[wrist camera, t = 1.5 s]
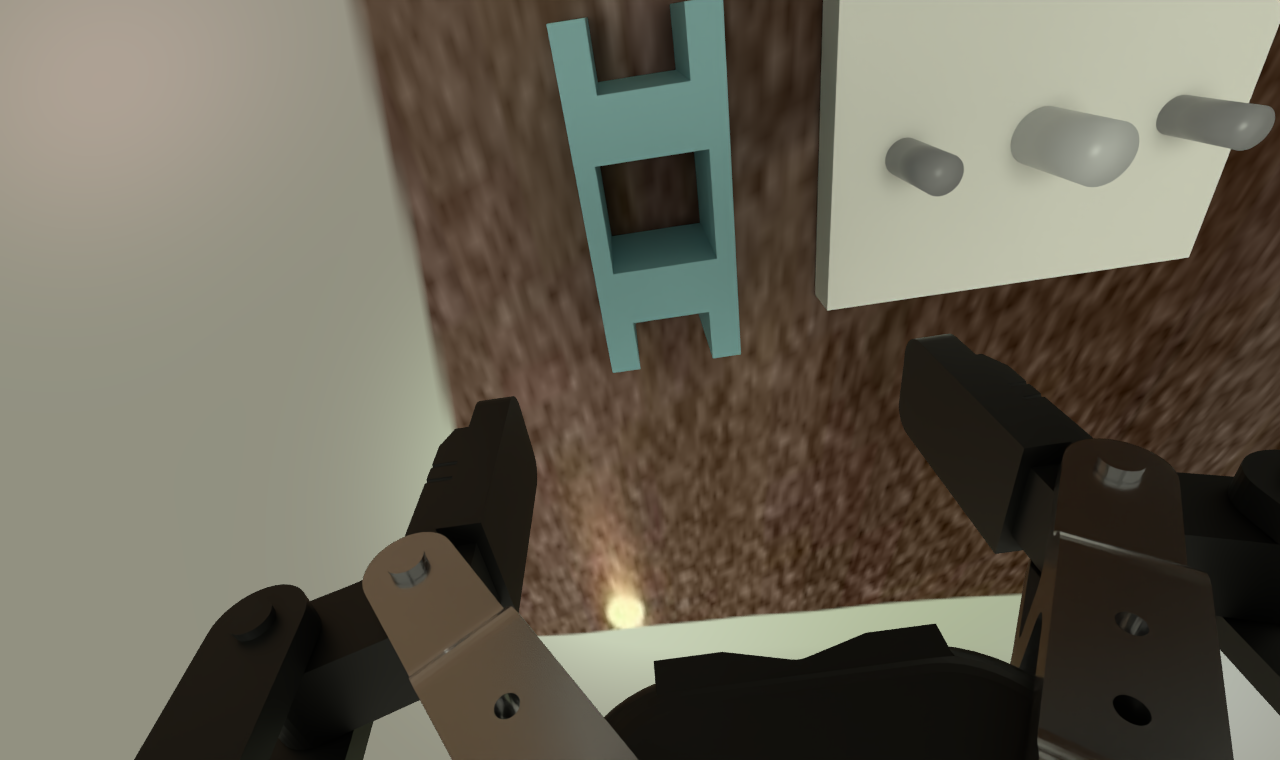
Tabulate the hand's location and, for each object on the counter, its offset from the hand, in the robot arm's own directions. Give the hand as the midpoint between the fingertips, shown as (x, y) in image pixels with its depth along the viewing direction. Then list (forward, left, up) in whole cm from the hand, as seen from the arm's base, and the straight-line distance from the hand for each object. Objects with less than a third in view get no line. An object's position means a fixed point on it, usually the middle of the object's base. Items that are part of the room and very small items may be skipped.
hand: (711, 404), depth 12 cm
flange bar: (0, 0, -18) cm, 18 cm away
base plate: (0, +17, -18) cm, 25 cm away
